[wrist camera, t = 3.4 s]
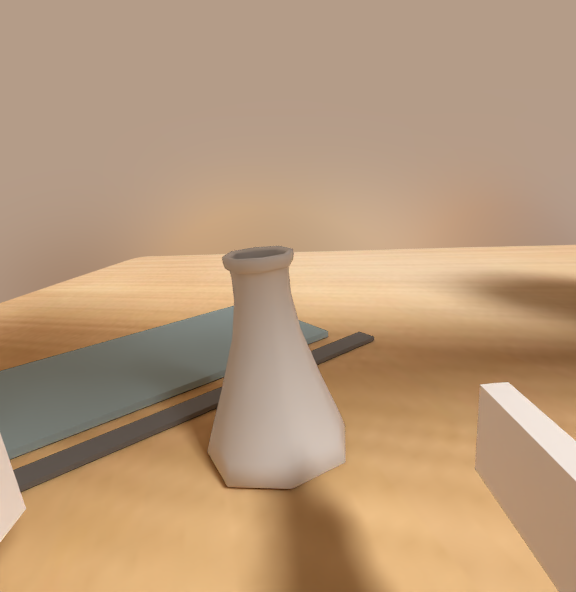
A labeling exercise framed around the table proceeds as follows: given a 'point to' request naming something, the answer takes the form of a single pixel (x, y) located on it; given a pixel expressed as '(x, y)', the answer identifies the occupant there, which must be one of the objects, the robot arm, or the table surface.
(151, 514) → the table surface
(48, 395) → the mat
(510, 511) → the robot arm
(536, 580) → the table surface
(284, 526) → the table surface
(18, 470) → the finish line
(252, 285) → the flask
